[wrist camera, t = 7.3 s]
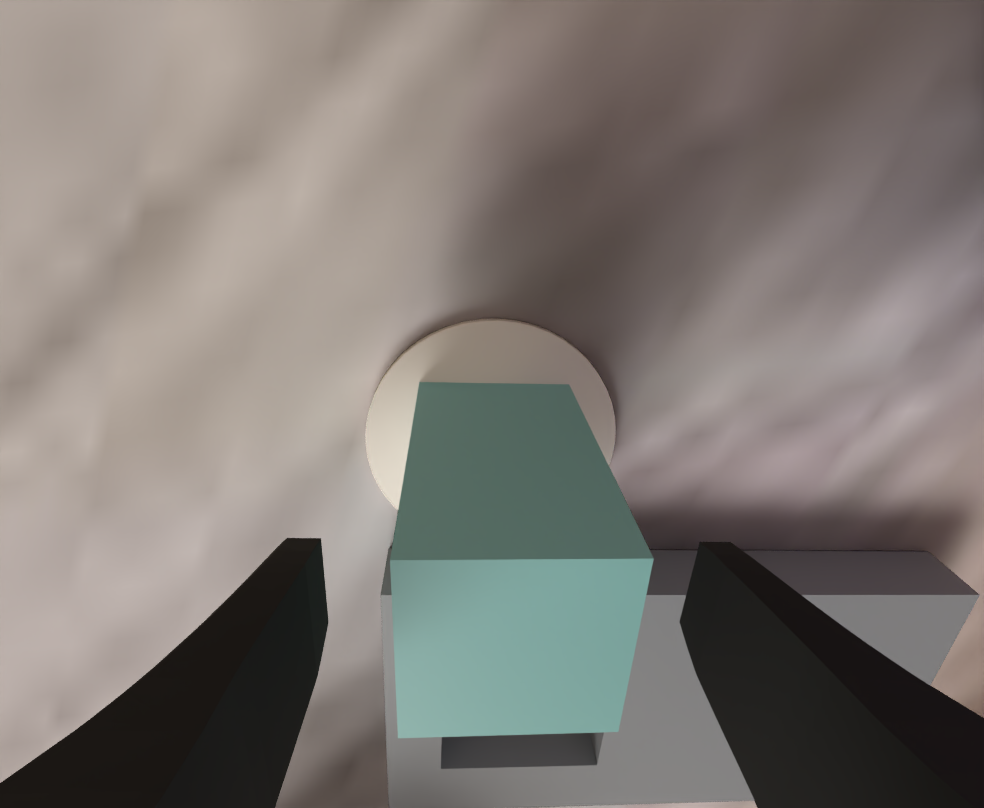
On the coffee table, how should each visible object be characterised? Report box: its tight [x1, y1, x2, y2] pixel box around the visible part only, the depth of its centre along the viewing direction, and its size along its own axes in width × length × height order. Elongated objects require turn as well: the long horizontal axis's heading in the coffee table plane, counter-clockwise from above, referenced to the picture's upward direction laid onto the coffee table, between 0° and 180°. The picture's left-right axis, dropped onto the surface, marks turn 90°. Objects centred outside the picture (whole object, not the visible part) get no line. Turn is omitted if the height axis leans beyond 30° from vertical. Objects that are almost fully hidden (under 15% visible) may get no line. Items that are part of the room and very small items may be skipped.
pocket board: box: [381, 549, 979, 808], centre depth 19 cm, size 18×10×2 cm, turn 87°
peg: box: [390, 382, 654, 738], centre depth 12 cm, size 4×4×7 cm
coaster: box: [365, 318, 616, 510], centre depth 16 cm, size 7×7×1 cm
